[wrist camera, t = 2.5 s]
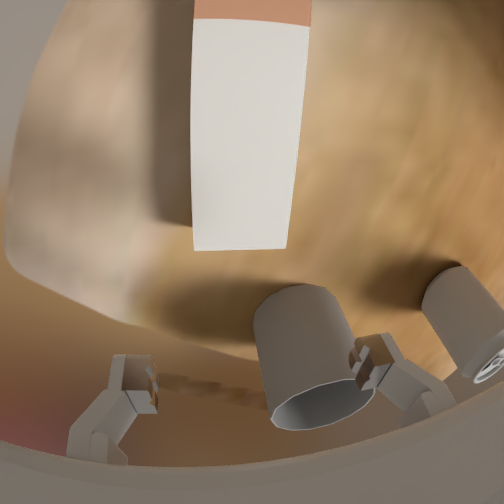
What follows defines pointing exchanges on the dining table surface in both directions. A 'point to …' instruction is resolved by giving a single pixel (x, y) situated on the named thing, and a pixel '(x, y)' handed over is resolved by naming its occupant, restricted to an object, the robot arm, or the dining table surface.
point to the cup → (306, 358)
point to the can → (466, 322)
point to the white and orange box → (246, 119)
